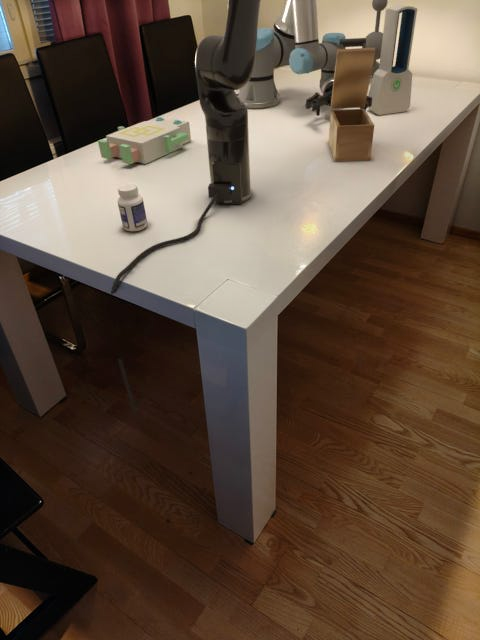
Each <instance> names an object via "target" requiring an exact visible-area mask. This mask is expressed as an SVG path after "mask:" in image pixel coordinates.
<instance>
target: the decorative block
mask: <svg viewBox="0 0 480 640" xmlns="http://www.w3.org/2000/svg"><path fill="white" fill-rule="evenodd" d="M190 127H191V126H190V121H188V120H184V119H183V120H182V119H177V118H176V119H175V118H172V117H164V116H158V117H156V118H154V119H151V120H149V121H147V120H143V121H141V122H138V123H136V124H133V125H131V126H128V127H125V126H122V125H121V126H118V127H117V130H116V131H114V132H112V133H109V134H107V135H105V138H106V139H99V140H97V143H98V148H99V152H100V157H101V158H103V159H106V160H110V159H113V158H118V159H121V163H123V164H126V165H131V164H134V163H139V164H143V165H147V164H149V163H151V162H153V161H156V160H157V159H160V158H162V157H164V156H166V155H169V154H171V153H173V152H175V151H177V150H179V149H182V148H183V145H185V144H187V143H189V142H191V141H192V137H191V128H190Z"/></svg>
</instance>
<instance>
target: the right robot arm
mask: <svg viewBox="0 0 480 640" xmlns="http://www.w3.org/2000/svg"><path fill="white" fill-rule="evenodd" d="M339 39H346V35H345V34H344V33H342V32H328V33H325V34H323V36H322V40H321V42H320V41H319V25H318V8H317V0H284V3H283V6H282V10H281V14H280V16H279V17H277V18H276V19H275V20H274V23H273V27H272V28H271V27H270V28H269V27H260V28H259V27H258V30H257V43H256V54H255V63H254V68H253V72H252V75H251V77H250V79H249V81H248V83H247V84H246V85H245V86H244V87H243V88H241V89H239V92H238V93H236V95H237V96H238V98H239V99H240V100H241V101H242V102H243V103H244V104H245V105H246V107H247V109H250V110H251V109H252V110H253V109H254V110H255V109H259V110H260V109H266V108H271V107H274V106H277V105H279V103H280V92H278V90H277V86H276V83H275V75H274V73H275V72H274V71H275V70H274V69H279V68H283V67H286V66H289V67H290V70H291V72H293V73H294V74H296V75H303V74H304V75H305V74H306V75H307V74H310V73H312V72H316V71H319V70H320V79H319V89H320V91H321V93H319V92H314V95H313V94H312V96H310V97H308V98H307V99H305V109H306V110H309V109H311V112H313V113H316V116H320V114H321V113H320V112H321V107H323V106H327V107H328V106H329V107H331V99H332V91H333V82H334V74H335V65H336V57H337V49H340V47H339ZM343 48H344V49H347V47H343ZM368 106H369V107H371V106H372V97H369V96H368V95H367V98H366V103H365V107H362V108H359V109H365V111H366V112H367V109H369V108H368Z"/></svg>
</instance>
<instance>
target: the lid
mask: <svg viewBox="0 0 480 640" xmlns="http://www.w3.org/2000/svg"><path fill="white" fill-rule="evenodd" d="M362 46H363V48H362ZM339 47H340V49H337V57H336V65H335V74H334V82H333V91H332V99H331V106H330V110H339V109H360V108H362V107H365V103H366V98H367V96H368V94H369V86H370V83H371V82H370V81H371V77H372V76H371V71H372V66H373V60H374V55H375V48H366V38H365V37H357V38H355V37H354V38H345V39H339ZM343 47H346V49H344V48H343ZM358 47H359V48H358Z"/></svg>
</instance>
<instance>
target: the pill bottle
mask: <svg viewBox="0 0 480 640" xmlns="http://www.w3.org/2000/svg"><path fill="white" fill-rule="evenodd" d="M117 193H118V196H119V197H118V199H117V206H118V210H119V211H118V212H119V215H120V219H121V224H122V227H123V229H124V230H125V231H128V232H138V231H141V230H144V229H146V227H147V226H148V217H147V214H146V208H145V203H144V198H143V196H142V195H141V194H139V188H138V185H137V184H135V183H132V182H131V183H123V184H121V185H119V186H118V187H117Z"/></svg>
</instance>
